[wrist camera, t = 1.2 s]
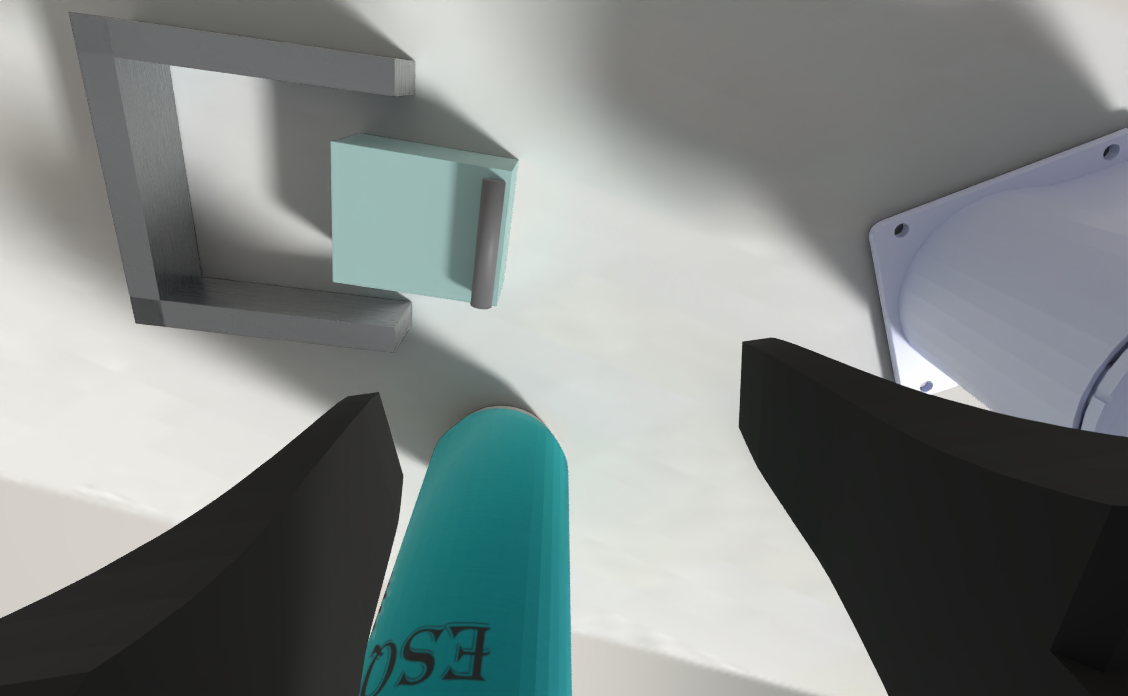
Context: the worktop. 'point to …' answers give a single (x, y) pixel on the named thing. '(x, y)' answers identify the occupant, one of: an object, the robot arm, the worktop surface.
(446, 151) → the mint cube with handle
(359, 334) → the bay
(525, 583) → the beverage can
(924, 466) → the robot arm
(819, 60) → the worktop surface
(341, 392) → the worktop surface
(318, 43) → the worktop surface
